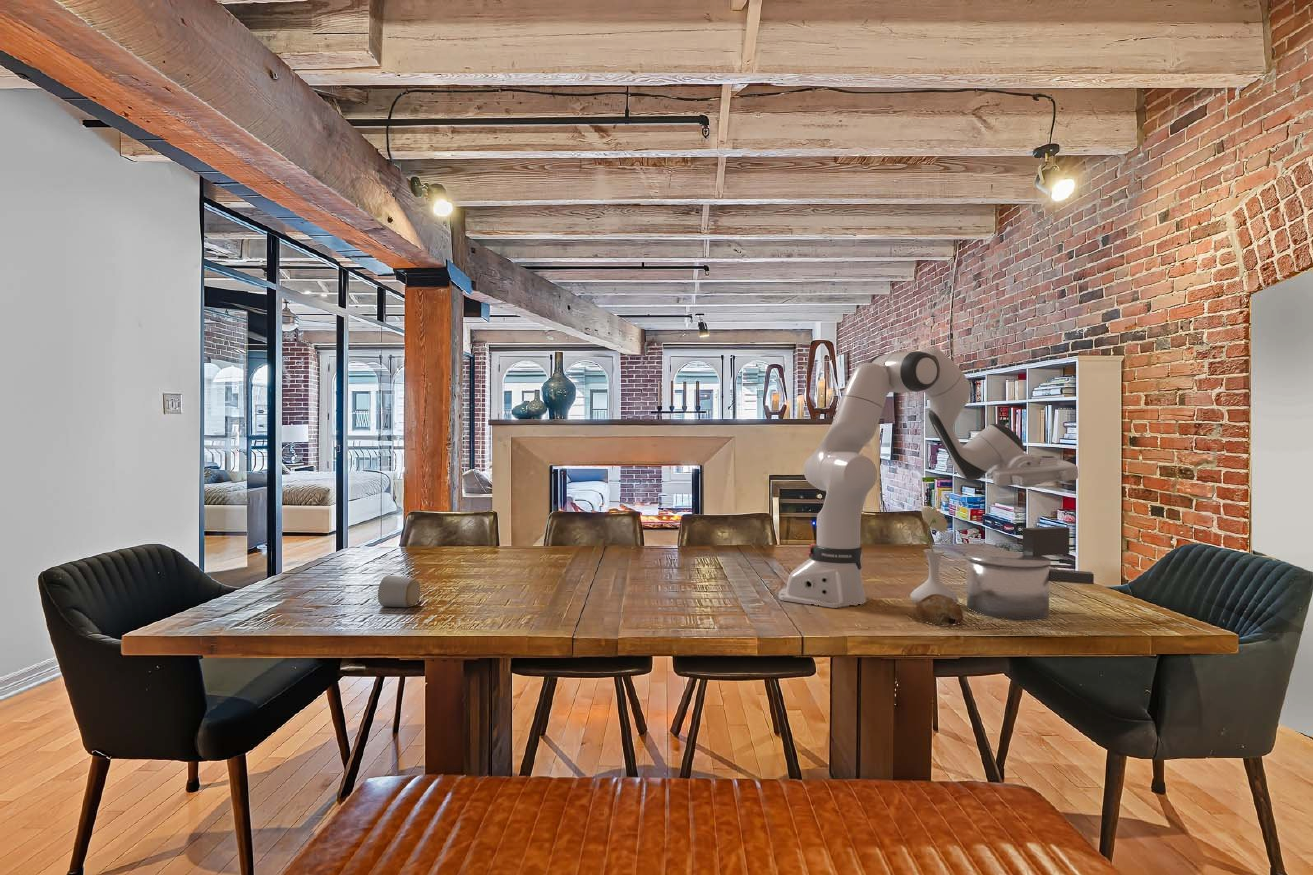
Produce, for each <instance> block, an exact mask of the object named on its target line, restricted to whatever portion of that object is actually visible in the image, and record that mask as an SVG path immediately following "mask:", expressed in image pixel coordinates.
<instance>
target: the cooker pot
mask: <svg viewBox="0 0 1313 875" xmlns="http://www.w3.org/2000/svg"><path fill="white" fill-rule="evenodd" d="M1094 576H1095V574H1094V573H1093V572H1092V571H1084V570H1083V571H1082V570H1070V569H1069V570H1068V569H1058V568H1057V569H1055V568H1054V569H1052V568H1050V566H1048V567H1043V568H1009V567H998V566H991V565H985V564H979V563H975V562H972V561H969V560H967V559H966V608H967V607H968V608H969V609H971V610H973V611H975V612H977V613H976V614H978V613H981V614H984V615H983V616H985V615H986V616H985V617H989V616H990V617H991V618H995V619H1001V618H1004V619H1003V620H1009V619H1010V621H1029V622H1030V621H1041V620H1046V619H1048V618H1049V616H1050V582H1055V583H1056V582H1057V583H1068V584H1069V583H1070V584H1071V583H1072V584H1083V585H1085V584H1086V585H1095V584H1094V583H1095V582H1094V580H1095V577H1094ZM968 608H967V609H968ZM969 609H968V610H969ZM971 610H970V611H971ZM973 611H972V612H973ZM975 612H974V613H975ZM981 614H980V615H981Z"/></svg>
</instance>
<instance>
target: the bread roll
mask: <svg viewBox="0 0 1313 875" xmlns="http://www.w3.org/2000/svg"><path fill="white" fill-rule="evenodd" d="M914 611H915V615H916V616H915V617H916V619H917V620H919V621H920V620H921V621H923V622H922V623H925V622H928V623H932V624H937V625H936V626H938V625H947V626H946V627H949V626H948V625H953V624H958V623H960V624H962V621H963V616H964V615H963V611H962V609H961V607H960V606H959V604H958V602H957V603H955V602H954V601H953V599H952V598H950V597H947V596H944V595H940V594H932V595H930V596H927V597H925V598H924V599H922V600H921V601H919V603H917V605H916V606H915V607H914ZM921 621H920V622H921Z"/></svg>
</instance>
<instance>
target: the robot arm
mask: <svg viewBox="0 0 1313 875" xmlns="http://www.w3.org/2000/svg"><path fill="white" fill-rule="evenodd" d="M913 392H914V393H915V392H916V393H918V392H923V393H924V394H925V395H926V397H927V398H928V400H929V406H930V408H929V411H928V418H929V421H930V423H931V425H932V427H933V429H934V431H935V433H936V435H937V437H938V438H939V441H940V442H941V444H942V446H943V448H944V449H945V451H946V453H947V455H948V458H949V460H950V462H951V463H952V464H951V465H952V466H953V468H954V470H955V472H956V473H957V474H958V475H959V476H960V477H962V478H963V479H964V480H967V481H970V480H971V481H974V480H975V481H977V480H980V479H981V478H982V477H984V475H985V474H986V473H987V474H986V476H987V478H989V479H992V482H993V484H994V485H995V486H997V487H1006V486H1008V487H1010V486H1019V487H1023V488H1032V487H1035V486H1038V485H1041V484H1044V483H1053V482H1068V481H1075V480H1077V479H1078V478H1079V469H1078V466H1077V465H1076V464H1075V463H1072V462H1070V461H1067V460H1063V459H1061V458H1060V456H1055V455H1051V456H1049V455H1048V456H1046V455H1043V456H1042V455H1036V454H1035V455H1034V454H1028V453H1026V452H1024V451H1025V448H1024V443H1023V441H1022V439H1021V438H1020V437H1019V436H1018V435H1017V434H1016V433H1015V432H1014V431H1013V430H1012V429H1011V428H1010V427H1007V426H1006V425H1004V424H1000V423H999V424H998V423H990V424H988V425H987V426H986V427H985V428H983V429H982V430H980V432H978V433H977V434H976V435H975V436H974V437H973V438H972V439H970V440H969V441H968V442H966V443H965V444H964V445H962V444H961V442H960V440H959V438H958V436H957V435H956V432H955V424H956V421H957V419H958V417H959V416H960V414H961V412H962V411H963V410H964V408H965V407H966V405H967V404H968V403H969V402H968V401H969V398H970V396H971V384H970V381H969V380H968V378H967V377H966V375H965V374H964V372H963V371H962V370H961V368H960V367H959V366H958V365H957V364H956V363H955V362H954V361H953V359H951V358H950V357H949V356H948V355H947V354H946V353H944V352H943V351H941V349H939V348H936V347H924V348H922V349H921V350H915V351H914V350H913V351H894V352H893V351H892V352H889V353H882V354H881V353H880V354H878V355H876V356H874V357H872V358H871V359H869V360H868V362H864V363H861V364H859V365H857V366H856V367H855V368H854V370H853V372H852V374H851V375H850V377H849V378H848V381H847V383H846V385H845V387H844V390H843V392H842V396H841V397H840V400H839V404H838V406H837V409H836V413H835V414H834V418H833V420H832V422H831V425H830V427H829V429H828V431H827V432H826V434H825V436H824V437H823V439H822V441H821V442H820V443H819V445H818V447H817V448H816V449H815V451H814V452H813V453H812V454H811V455H810V456H809V457H808V458H807V459H806V460H805V462H804V465H803V475H804V477H805V479H806V481H807V483H809V484H810V485H811V486H812V487H814V488H816V489H818V490H820V491H824V492H826V495H825V497H824V500H823V501H824V502H823V506H822V508H821V510H820V511H819V512H818V513H817V515H816V543H811V544H810V545H809V547H808V557H809V558H808V559H807V560H805V561H804V562H802V563H801V564H800V565H798V566H797V567H795V568H794V569H793V570H791V572H790V574H789V576H788V578H787V583H786V587H783V588H782V589H780V590H779V591H778V597H777V598H778V599H779V600H781V601H786V602H792V603H799V604H806V605H811V604H814V605H813V606H818V605H819V606H818V607H826V608H831V609H832V608H833V609H835V608H836V609H837V608H838V607H839V608H842V606H843V607H850V606H849V605H854V606H859V605H858V604H860V605H863V604H865V603H867V598H866V594H865V589H864V585H863V577H862V568H863V547H862V546H861V521H862V520H861V519H862V514H863V509H864V505H865V502H866V498H867V497H868V494H869V492H870V491H871V490H872V489H873V488H874V487H875V485H876V483H877V481H878V480H877V479H878V469H877V466H876V464H875V463H874V461H873V460H872V459H871V458H869V457H867V456H866V455H863V454H861V452H862V450H863V448H864V447H865V446H866V445H867V443H869V442H870V441H872V439H873V438H874V436H875V434H876V431H877V428H878V425H879V422H880V419H881V417H882V414H883V410H884V408H885V404H886V402H887V401H886V400H887V397H888V395H889V394H890V393H897V394H907V393H913ZM993 467H994V469H992V468H993ZM990 469H992V471H991V472H990V473H989V472H988V471H989V470H990ZM839 608H838V609H839Z"/></svg>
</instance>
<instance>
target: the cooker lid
mask: <svg viewBox="0 0 1313 875" xmlns="http://www.w3.org/2000/svg"><path fill="white" fill-rule="evenodd" d="M1069 554H1070V527H1066V526H1061V525H1059V526H1058V525H1057V526H1054V525H1053V526H1041V527H1040V526H1039V527H1038V526H1037V527H1035V526H1034V527H1024V528H1023V527H1022V552H1021V551H1012V550H1011V551H1010V550H998V549H995V550H993V549H992V550H991V549H989V550H988V549H985V550H982V549H981V550H972V551H971V550H970V551H967V552H966V553H965V559H966V561H967V560H969V561H972V562H975V563H979V564H985V565H991V566H998V567H1009V568H1043V567H1048V566H1049V567H1050V566H1052V564H1051V561H1052V559H1050V558H1048V557H1047V556H1056V555H1057V556H1058V555H1059V556H1060V555H1069Z"/></svg>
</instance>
